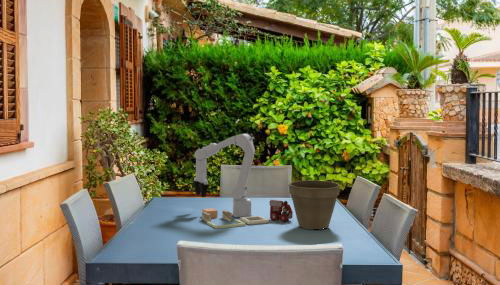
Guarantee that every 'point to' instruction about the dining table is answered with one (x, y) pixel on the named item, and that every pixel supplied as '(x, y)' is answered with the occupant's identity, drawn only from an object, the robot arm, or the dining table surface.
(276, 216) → the toy fire truck
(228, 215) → the channel walls
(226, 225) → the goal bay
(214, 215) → the terracotta block
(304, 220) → the plant pot
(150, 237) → the dining table surface
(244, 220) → the trap basin
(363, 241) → the dining table surface
